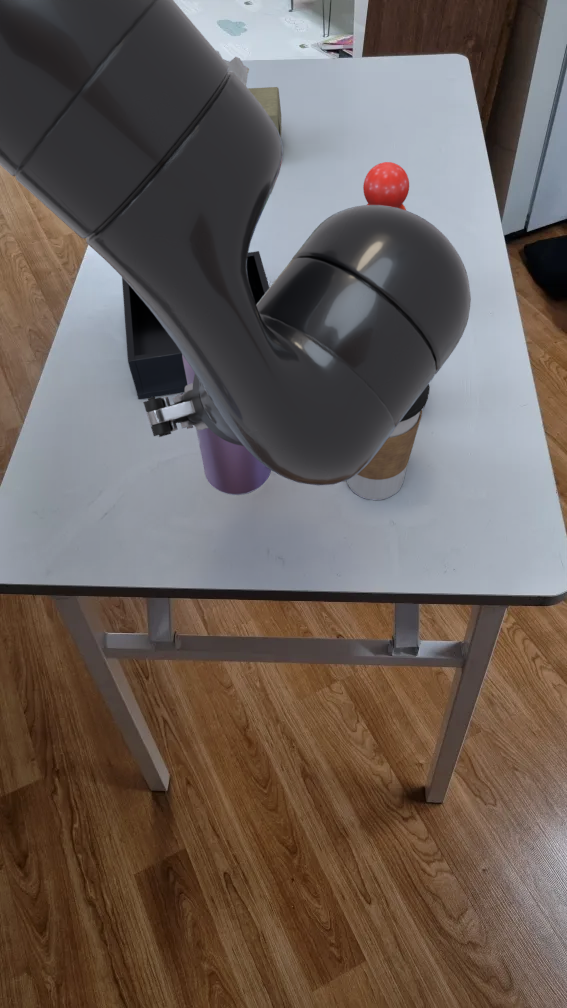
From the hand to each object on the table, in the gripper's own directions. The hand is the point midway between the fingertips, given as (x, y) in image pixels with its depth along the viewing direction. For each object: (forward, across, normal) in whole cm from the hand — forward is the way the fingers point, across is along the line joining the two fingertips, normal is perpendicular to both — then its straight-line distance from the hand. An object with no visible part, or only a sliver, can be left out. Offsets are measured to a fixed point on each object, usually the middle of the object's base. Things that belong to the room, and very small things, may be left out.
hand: (224, 401), depth 60 cm
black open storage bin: (+32, -4, -9) cm, 33 cm away
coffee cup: (+12, -15, +12) cm, 22 cm away
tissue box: (+64, -22, -41) cm, 79 cm away
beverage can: (+4, 0, +6) cm, 8 cm away
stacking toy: (+30, -27, -7) cm, 41 cm away
